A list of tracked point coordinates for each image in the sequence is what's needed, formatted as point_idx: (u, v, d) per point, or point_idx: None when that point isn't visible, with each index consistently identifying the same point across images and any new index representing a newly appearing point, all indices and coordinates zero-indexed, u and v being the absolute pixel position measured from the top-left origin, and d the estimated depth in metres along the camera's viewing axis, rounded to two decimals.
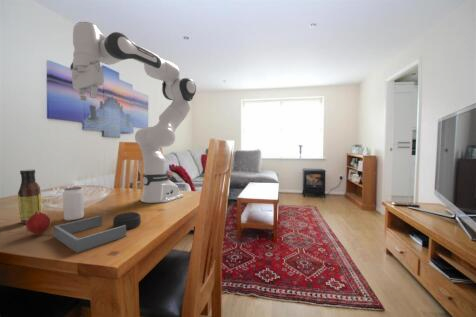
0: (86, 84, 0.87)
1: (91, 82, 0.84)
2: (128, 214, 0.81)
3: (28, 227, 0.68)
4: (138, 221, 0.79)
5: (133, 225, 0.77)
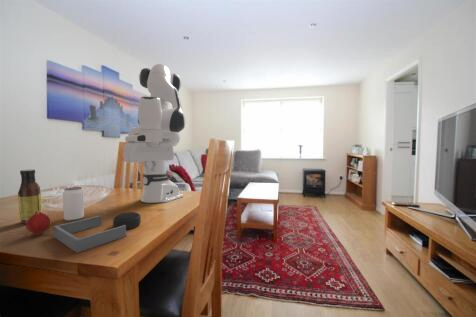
0: (160, 159, 0.89)
1: (169, 159, 0.92)
2: (128, 214, 0.81)
3: (28, 227, 0.68)
4: (138, 221, 0.79)
5: (133, 225, 0.77)
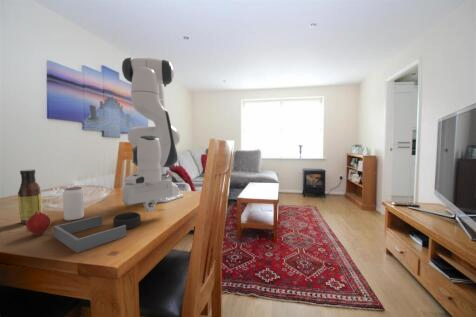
0: (159, 197, 0.89)
1: (169, 195, 0.92)
2: (128, 214, 0.81)
3: (28, 227, 0.68)
4: (138, 221, 0.79)
5: (133, 225, 0.77)
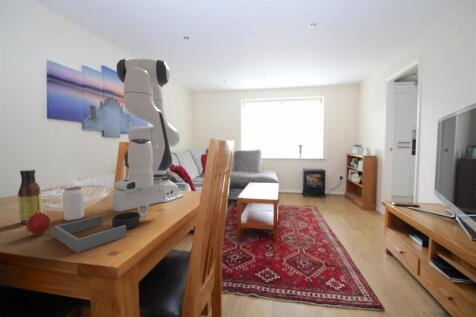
0: (151, 203, 0.86)
1: (161, 200, 0.89)
2: (127, 214, 0.81)
3: (28, 227, 0.68)
4: (137, 221, 0.79)
5: (132, 225, 0.77)
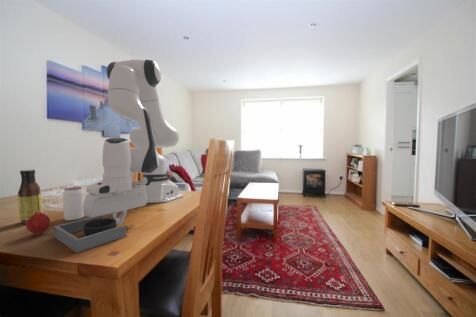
0: (130, 208, 0.79)
1: (141, 205, 0.82)
2: (101, 220, 0.73)
3: (28, 227, 0.68)
4: (112, 228, 0.72)
5: None
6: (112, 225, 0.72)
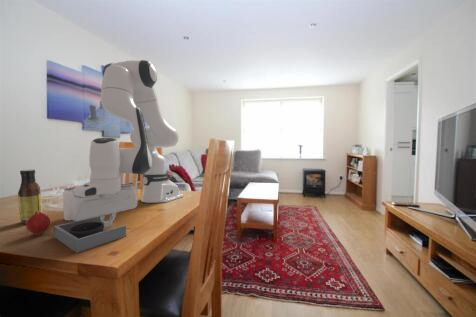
0: (119, 210, 0.76)
1: (131, 207, 0.79)
2: (88, 224, 0.70)
3: (28, 227, 0.68)
4: None
5: None
6: (99, 229, 0.69)
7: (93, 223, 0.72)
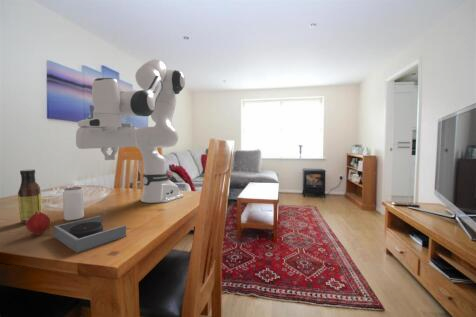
0: (120, 146, 0.84)
1: (131, 145, 0.87)
2: (88, 224, 0.70)
3: (28, 227, 0.68)
4: None
5: None
6: (99, 229, 0.69)
7: (93, 223, 0.72)
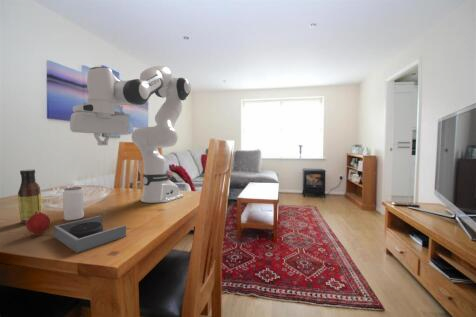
0: (113, 132, 0.87)
1: (124, 132, 0.91)
2: (88, 224, 0.70)
3: (28, 227, 0.68)
4: None
5: None
6: (99, 229, 0.69)
7: (93, 223, 0.72)
